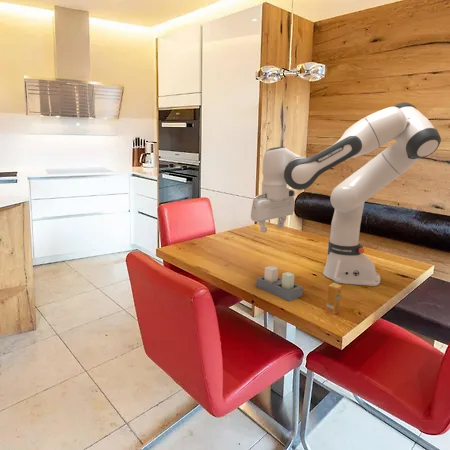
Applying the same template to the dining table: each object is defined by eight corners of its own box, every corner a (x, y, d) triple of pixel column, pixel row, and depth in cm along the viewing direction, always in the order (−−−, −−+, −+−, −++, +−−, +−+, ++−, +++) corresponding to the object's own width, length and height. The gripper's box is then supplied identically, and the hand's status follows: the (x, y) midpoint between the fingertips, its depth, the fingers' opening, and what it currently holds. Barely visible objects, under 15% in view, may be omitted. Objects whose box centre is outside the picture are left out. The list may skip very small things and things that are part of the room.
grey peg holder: (301, 297, 136) (302, 286, 135) (289, 302, 131) (290, 292, 130) (268, 283, 147) (269, 273, 146) (256, 288, 143) (256, 278, 142)
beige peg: (293, 295, 136) (294, 274, 134) (287, 297, 134) (288, 276, 132) (286, 292, 138) (287, 271, 136) (281, 294, 137) (282, 273, 135)
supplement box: (334, 316, 122) (336, 287, 120) (324, 312, 125) (327, 284, 122) (339, 313, 124) (342, 285, 122) (330, 309, 127) (332, 281, 124)
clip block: (277, 287, 142) (278, 267, 140) (270, 290, 140) (272, 270, 138) (270, 285, 145) (271, 265, 143) (263, 287, 142) (264, 267, 140)
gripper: (260, 197, 127) (259, 236, 130) (298, 191, 140) (296, 227, 144) (247, 194, 132) (246, 232, 135) (285, 188, 145) (283, 224, 148)
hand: (272, 229), depth 139 cm, fingers open, 8 cm apart
